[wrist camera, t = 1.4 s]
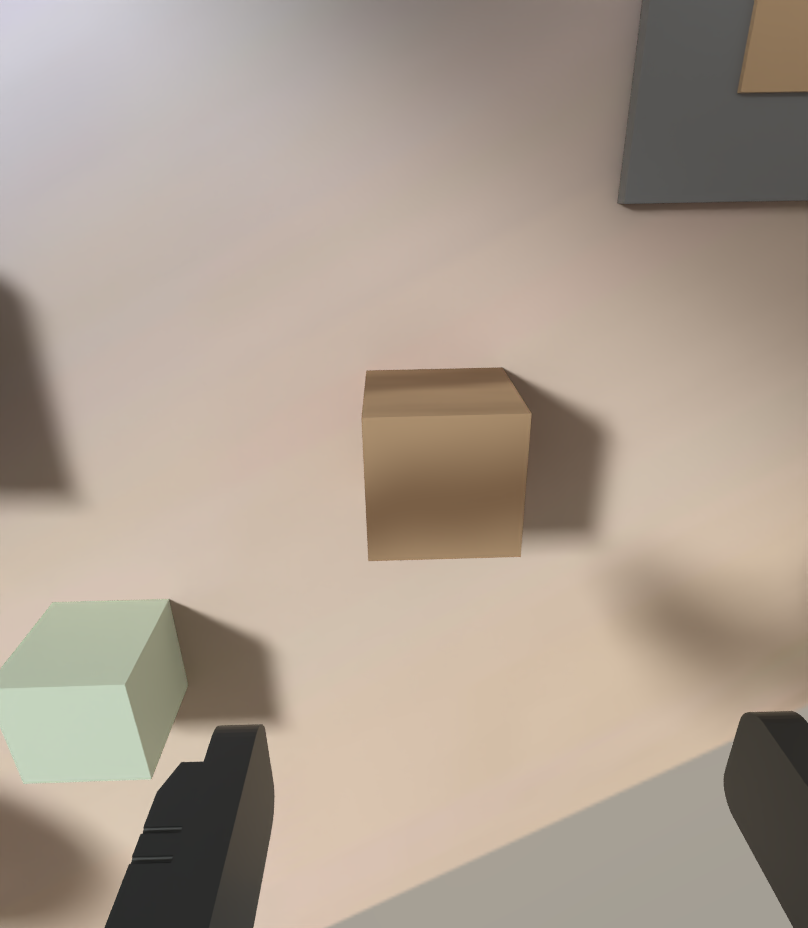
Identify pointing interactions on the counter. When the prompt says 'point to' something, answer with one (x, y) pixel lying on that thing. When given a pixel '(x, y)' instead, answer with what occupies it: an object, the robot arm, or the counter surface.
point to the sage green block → (93, 691)
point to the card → (718, 103)
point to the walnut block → (444, 463)
